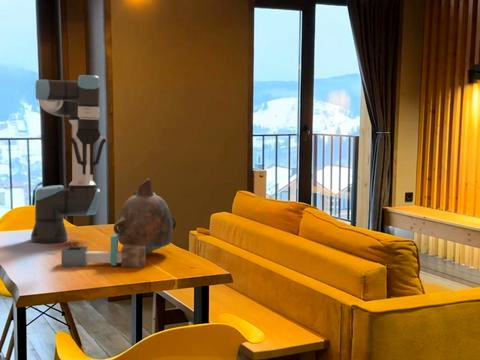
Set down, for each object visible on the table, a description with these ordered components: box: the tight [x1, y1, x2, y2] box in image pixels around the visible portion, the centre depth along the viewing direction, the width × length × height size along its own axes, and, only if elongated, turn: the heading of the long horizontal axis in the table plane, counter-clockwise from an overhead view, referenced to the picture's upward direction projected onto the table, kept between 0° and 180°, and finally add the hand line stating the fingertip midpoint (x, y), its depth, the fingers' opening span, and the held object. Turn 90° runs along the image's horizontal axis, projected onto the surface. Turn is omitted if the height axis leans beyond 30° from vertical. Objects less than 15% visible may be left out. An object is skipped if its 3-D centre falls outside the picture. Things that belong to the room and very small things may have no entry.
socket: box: [121, 244, 146, 269], centre depth 231 cm, size 8×8×7 cm
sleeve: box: [60, 246, 88, 268], centre depth 229 cm, size 8×7×6 cm
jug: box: [113, 178, 176, 255], centre depth 249 cm, size 24×21×30 cm
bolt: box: [85, 233, 122, 266], centre depth 230 cm, size 16×5×10 cm, turn 96°
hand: (88, 183), depth 232 cm, fingers closed
